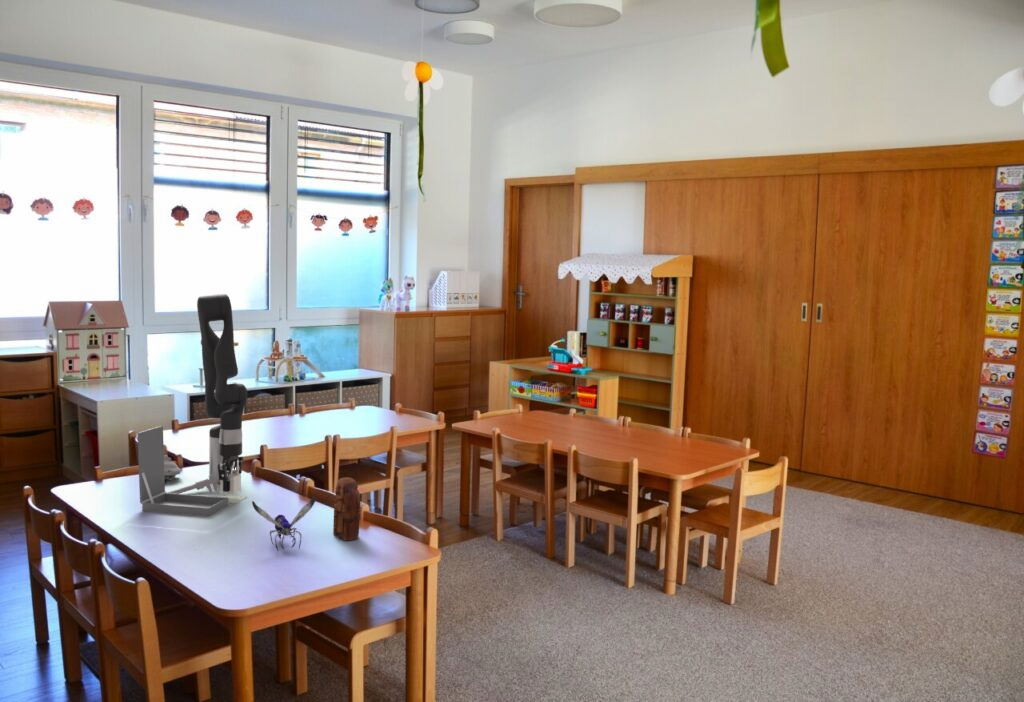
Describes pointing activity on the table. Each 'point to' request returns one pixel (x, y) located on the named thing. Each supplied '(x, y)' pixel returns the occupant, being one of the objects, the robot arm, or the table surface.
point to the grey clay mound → (170, 468)
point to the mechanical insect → (285, 521)
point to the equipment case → (154, 482)
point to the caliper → (198, 485)
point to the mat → (234, 498)
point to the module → (232, 484)
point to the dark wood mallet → (346, 509)
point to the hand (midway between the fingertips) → (230, 489)
